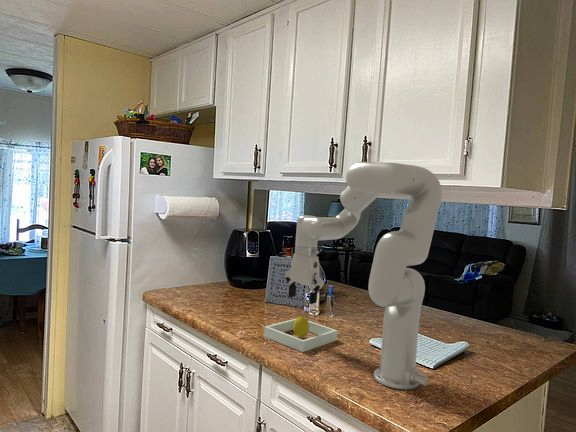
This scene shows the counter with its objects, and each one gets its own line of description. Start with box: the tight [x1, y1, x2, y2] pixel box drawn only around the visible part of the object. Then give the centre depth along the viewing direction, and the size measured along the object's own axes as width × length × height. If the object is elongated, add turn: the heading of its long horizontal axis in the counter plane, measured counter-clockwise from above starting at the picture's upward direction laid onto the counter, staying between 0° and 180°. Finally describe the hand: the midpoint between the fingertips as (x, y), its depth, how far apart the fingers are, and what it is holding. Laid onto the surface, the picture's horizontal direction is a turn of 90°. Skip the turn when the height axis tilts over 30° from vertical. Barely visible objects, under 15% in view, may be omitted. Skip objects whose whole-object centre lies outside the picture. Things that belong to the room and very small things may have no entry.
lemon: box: [292, 315, 309, 339], centre depth 149 cm, size 6×6×8 cm
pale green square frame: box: [263, 317, 338, 353], centre depth 149 cm, size 18×18×4 cm
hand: (302, 299), depth 148 cm, fingers open, 9 cm apart
